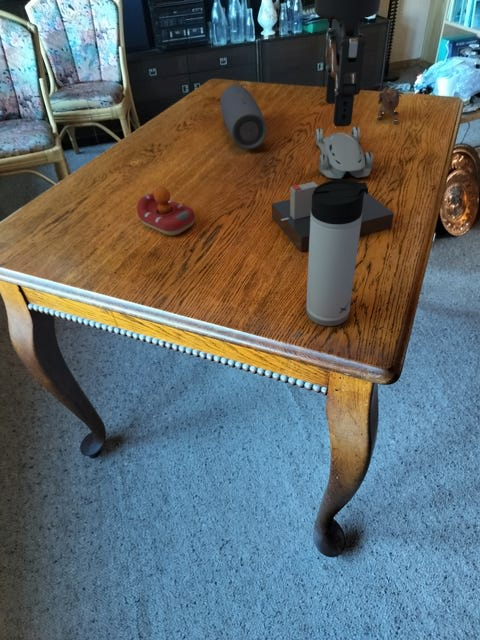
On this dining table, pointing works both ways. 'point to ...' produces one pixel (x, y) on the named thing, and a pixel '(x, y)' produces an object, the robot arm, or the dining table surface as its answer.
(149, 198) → the toy boat
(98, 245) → the dining table surface
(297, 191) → the grey rectangular block
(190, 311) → the dining table surface
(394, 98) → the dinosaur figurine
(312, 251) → the travel mug
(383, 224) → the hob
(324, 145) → the grey lumpy piece
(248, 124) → the bluetooth speaker
